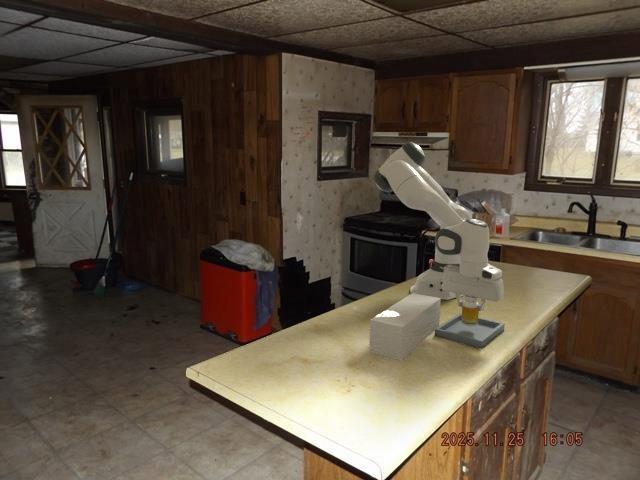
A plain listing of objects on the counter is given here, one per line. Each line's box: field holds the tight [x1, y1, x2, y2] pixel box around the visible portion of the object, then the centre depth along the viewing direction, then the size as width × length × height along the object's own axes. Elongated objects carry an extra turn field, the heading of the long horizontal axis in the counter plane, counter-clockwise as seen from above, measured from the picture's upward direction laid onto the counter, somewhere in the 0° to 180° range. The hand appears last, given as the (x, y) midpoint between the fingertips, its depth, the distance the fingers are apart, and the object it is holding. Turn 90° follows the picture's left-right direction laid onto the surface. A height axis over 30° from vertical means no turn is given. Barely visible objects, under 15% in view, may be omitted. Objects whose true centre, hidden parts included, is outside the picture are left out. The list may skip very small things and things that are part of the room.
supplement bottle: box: [461, 295, 480, 326], centre depth 160 cm, size 5×5×10 cm
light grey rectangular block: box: [368, 293, 442, 361], centre depth 157 cm, size 32×11×11 cm, turn 146°
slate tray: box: [434, 312, 505, 350], centre depth 162 cm, size 20×16×2 cm
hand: (470, 308), depth 160 cm, fingers closed on supplement bottle, 5 cm apart
